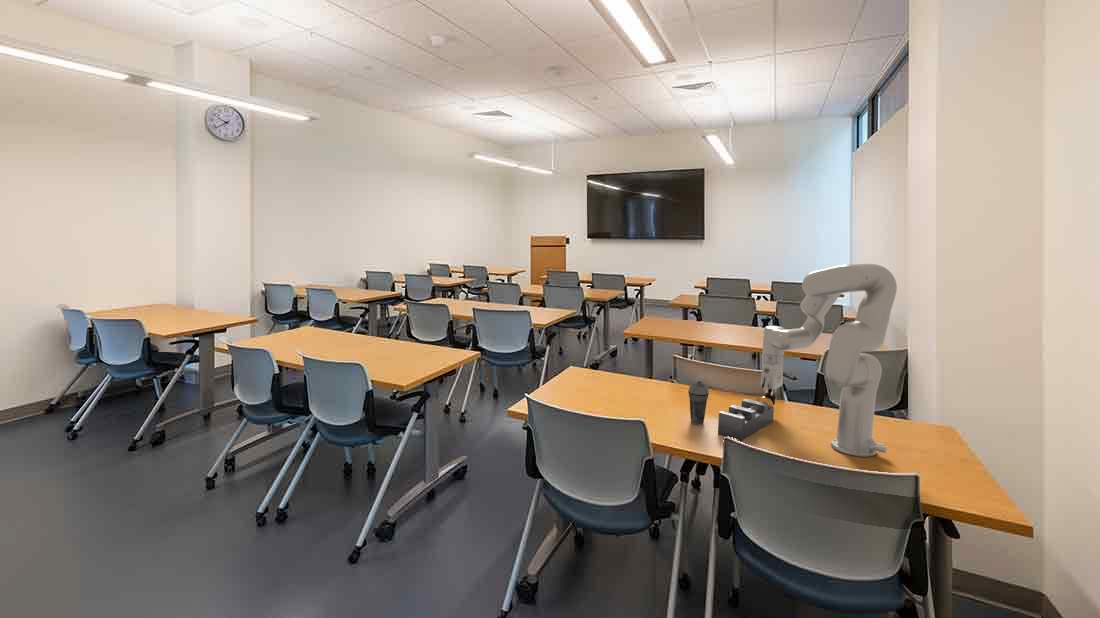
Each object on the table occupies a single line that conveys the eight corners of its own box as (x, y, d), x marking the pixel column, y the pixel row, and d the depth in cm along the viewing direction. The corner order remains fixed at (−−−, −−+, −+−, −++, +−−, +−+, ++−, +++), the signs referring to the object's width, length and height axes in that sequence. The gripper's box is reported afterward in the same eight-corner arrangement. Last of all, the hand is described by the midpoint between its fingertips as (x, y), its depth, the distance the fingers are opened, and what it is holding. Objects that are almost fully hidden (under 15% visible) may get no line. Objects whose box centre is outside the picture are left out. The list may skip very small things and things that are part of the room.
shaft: (772, 413, 186) (773, 398, 185) (741, 431, 168) (742, 414, 167) (757, 409, 190) (757, 394, 189) (725, 426, 173) (726, 410, 172)
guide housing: (772, 422, 183) (774, 400, 182) (741, 441, 166) (742, 417, 165) (750, 416, 189) (752, 395, 188) (717, 434, 172) (719, 411, 171)
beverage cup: (709, 426, 179) (712, 373, 176) (689, 426, 179) (692, 372, 177) (704, 419, 186) (706, 367, 184) (684, 418, 187) (686, 367, 184)
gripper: (775, 363, 180) (771, 411, 183) (790, 356, 190) (786, 402, 193) (754, 360, 185) (751, 406, 188) (770, 353, 196) (767, 397, 198)
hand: (769, 404), depth 190 cm, fingers closed
